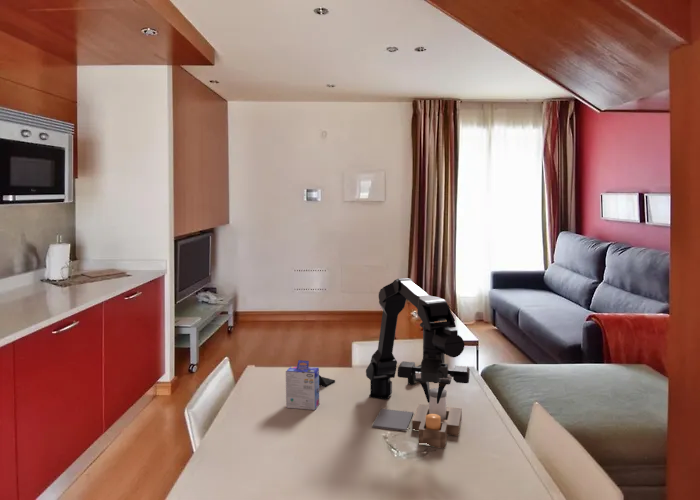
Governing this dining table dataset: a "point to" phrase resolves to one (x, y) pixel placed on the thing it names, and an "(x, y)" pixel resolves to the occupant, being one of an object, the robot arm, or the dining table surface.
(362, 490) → the dining table surface
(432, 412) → the cylinder
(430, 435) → the socket block
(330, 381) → the handheld gaming console
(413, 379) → the mobile phone
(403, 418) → the mat
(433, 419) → the release button
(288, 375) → the ink cartridge box
